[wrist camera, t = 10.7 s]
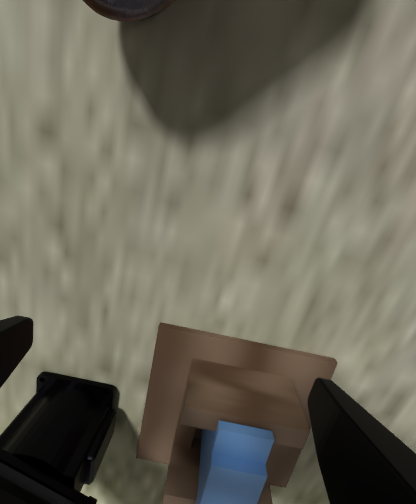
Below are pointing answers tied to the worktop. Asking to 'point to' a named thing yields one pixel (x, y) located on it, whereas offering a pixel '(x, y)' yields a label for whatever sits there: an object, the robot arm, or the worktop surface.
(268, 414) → the cradle
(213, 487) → the block
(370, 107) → the worktop surface
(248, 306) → the worktop surface
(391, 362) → the worktop surface
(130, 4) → the tin
